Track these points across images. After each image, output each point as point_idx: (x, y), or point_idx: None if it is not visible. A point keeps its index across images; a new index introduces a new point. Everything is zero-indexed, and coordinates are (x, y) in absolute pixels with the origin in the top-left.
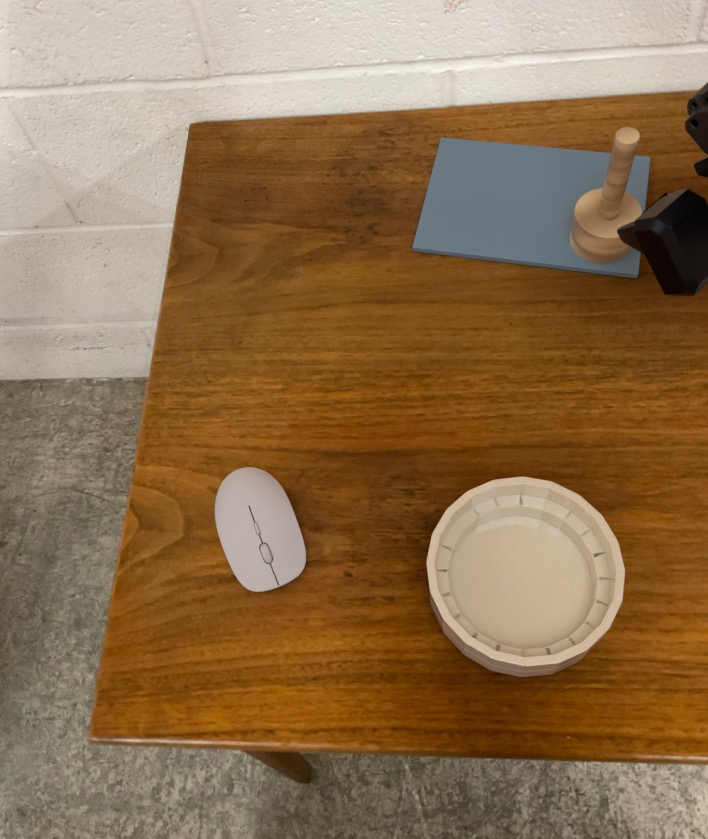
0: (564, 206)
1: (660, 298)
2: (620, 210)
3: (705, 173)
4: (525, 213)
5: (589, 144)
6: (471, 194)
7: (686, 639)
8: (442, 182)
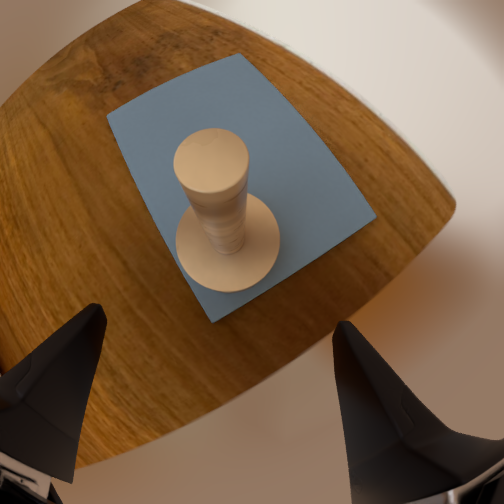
0: None
1: (208, 361)
2: (242, 250)
3: (336, 352)
4: None
5: (345, 152)
6: (193, 103)
7: None
8: (190, 80)
